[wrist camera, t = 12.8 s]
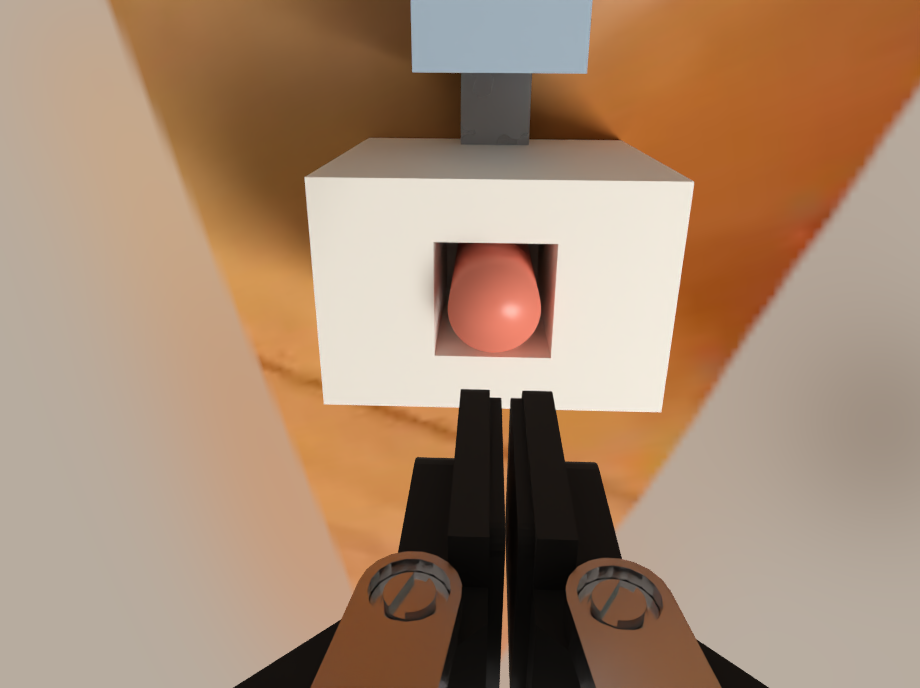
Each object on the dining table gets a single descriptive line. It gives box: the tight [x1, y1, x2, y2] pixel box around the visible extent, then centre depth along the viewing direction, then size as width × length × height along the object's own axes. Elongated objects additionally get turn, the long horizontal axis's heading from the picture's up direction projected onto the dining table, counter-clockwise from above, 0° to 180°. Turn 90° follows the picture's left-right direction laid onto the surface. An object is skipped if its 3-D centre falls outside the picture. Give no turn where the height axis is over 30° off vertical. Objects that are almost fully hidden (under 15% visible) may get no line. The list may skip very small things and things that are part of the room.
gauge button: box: [448, 243, 541, 353], centre depth 24 cm, size 3×3×7 cm
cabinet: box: [304, 138, 694, 412], centre depth 27 cm, size 8×12×12 cm, turn 90°
